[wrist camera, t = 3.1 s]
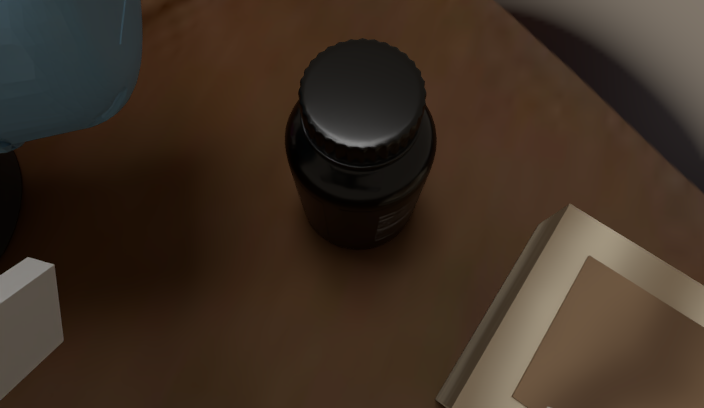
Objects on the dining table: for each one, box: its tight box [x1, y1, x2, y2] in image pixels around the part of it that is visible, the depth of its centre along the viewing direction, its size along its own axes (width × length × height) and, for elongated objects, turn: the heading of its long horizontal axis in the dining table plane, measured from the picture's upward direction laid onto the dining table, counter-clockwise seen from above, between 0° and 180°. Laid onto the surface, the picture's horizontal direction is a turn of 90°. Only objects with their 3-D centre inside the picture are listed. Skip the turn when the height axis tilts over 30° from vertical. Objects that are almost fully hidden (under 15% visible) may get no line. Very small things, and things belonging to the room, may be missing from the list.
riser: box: [435, 204, 704, 408], centre depth 23 cm, size 12×12×4 cm
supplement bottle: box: [285, 38, 437, 250], centre depth 22 cm, size 7×7×12 cm
